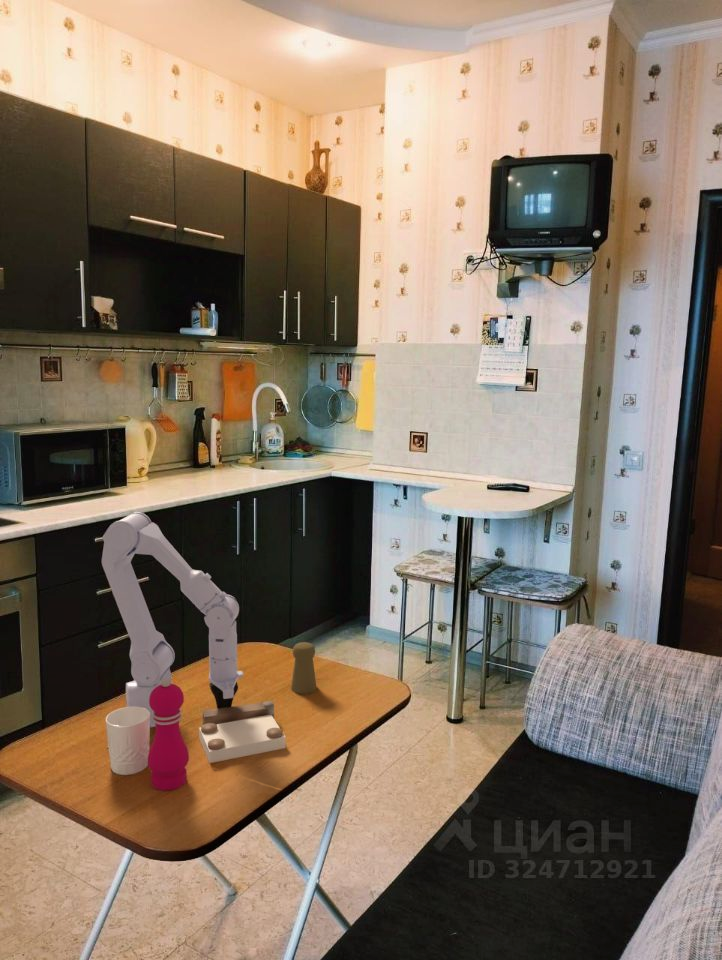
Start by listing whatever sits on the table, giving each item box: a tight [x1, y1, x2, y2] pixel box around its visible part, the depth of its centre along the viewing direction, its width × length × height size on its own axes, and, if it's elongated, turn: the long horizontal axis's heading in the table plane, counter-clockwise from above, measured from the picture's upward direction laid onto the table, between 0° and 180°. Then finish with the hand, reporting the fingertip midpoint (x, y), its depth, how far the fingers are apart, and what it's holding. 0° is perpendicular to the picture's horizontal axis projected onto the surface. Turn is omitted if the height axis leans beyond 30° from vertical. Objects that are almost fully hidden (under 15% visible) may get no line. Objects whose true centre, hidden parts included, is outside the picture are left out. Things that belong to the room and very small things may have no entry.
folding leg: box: [202, 700, 275, 725], centre depth 156 cm, size 15×3×4 cm, turn 108°
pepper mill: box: [147, 677, 190, 791], centre depth 134 cm, size 7×7×20 cm
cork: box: [290, 641, 318, 695], centre depth 173 cm, size 6×6×11 cm
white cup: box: [105, 706, 151, 776], centre depth 139 cm, size 8×8×10 cm
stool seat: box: [198, 715, 287, 764], centre depth 148 cm, size 15×10×3 cm, turn 113°
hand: (224, 715), depth 157 cm, fingers closed
